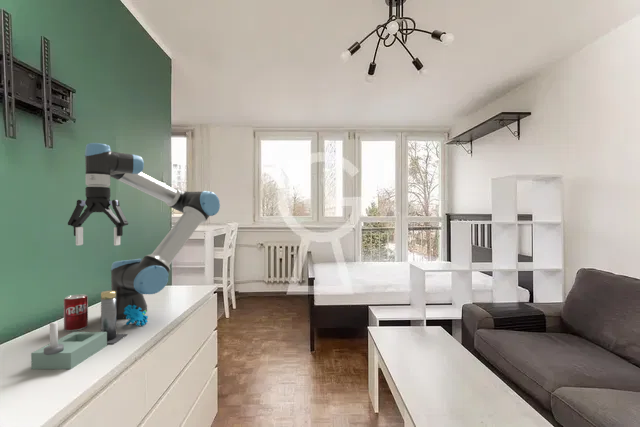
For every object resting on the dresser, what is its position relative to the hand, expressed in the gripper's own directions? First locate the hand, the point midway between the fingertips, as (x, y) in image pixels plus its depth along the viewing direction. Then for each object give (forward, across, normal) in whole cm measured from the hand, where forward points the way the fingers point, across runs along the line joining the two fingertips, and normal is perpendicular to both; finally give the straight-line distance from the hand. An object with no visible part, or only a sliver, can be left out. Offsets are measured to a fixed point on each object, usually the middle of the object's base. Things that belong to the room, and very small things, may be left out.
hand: (98, 245), depth 120 cm
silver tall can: (+31, +8, -7) cm, 33 cm away
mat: (+32, +8, -7) cm, 33 cm away
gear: (+32, +9, +8) cm, 34 cm away
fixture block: (+32, +5, -20) cm, 38 cm away
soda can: (+32, -11, +4) cm, 34 cm away
